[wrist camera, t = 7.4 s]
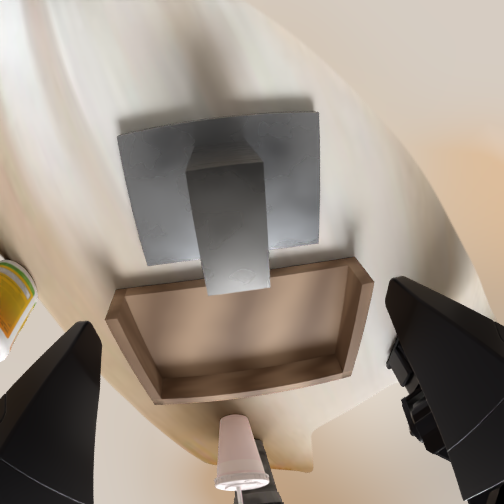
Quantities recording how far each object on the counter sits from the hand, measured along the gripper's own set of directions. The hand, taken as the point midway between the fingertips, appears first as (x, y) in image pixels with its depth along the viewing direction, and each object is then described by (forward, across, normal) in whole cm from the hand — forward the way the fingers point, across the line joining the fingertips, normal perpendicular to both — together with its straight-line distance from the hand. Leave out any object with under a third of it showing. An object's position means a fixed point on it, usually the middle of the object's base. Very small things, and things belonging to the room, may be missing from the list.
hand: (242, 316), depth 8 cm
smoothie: (+12, +3, +30) cm, 33 cm away
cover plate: (+12, 0, 0) cm, 12 cm away
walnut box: (+12, 0, +12) cm, 17 cm away
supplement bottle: (+12, +20, +5) cm, 24 cm away
